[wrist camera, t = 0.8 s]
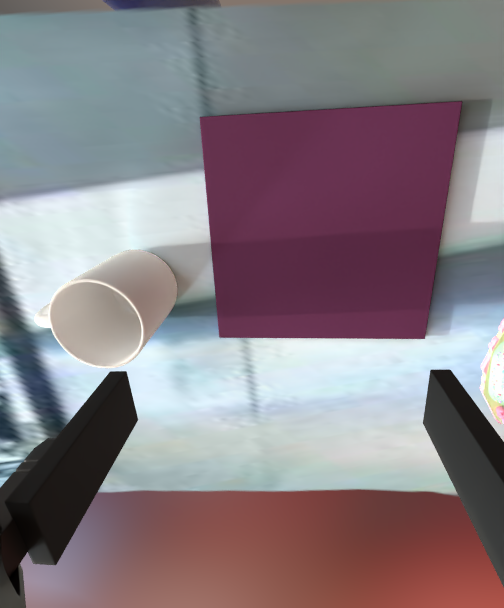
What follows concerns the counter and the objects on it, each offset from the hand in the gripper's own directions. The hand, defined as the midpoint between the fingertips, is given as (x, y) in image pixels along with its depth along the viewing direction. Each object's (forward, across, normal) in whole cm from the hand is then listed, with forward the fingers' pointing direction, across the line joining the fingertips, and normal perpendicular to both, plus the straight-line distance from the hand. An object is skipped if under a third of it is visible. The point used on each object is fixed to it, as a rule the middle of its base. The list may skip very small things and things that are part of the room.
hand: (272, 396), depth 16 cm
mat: (+23, +4, +2) cm, 23 cm away
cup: (+23, -17, -2) cm, 29 cm away
